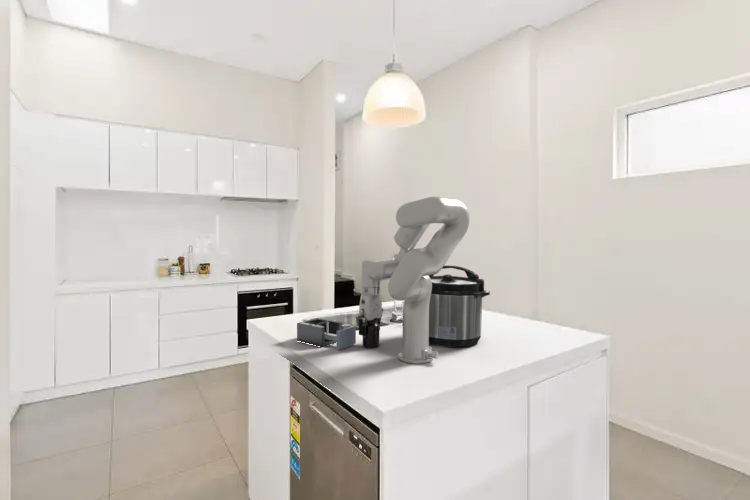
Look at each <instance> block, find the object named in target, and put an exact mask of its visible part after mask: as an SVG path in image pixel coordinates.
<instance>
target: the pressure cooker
mask: <svg viewBox="0 0 750 500" xmlns="http://www.w3.org/2000/svg"><path fill="white" fill-rule="evenodd" d="M443 269H454V270H459V271H463V272H464V273H465V274H466V277H465V276H459V275H452V274H444V275H435V274H434V275H429V277H430V279H431V281H432V291H431V297H430V304H429V344H432V345H435V346H437V345H438V346H441V347H451V348H452V347H453V348H454V347H469V346H472V345H473V346H474V345H475V344H477V343H478V342H479V341H480V339H481V338H482V337H481V336H482V321H483V320H482V317H483V315H482V313H483V298H485V297H487V296H490V295H491V291H489V290H485V279H483V278H480V277H479V274H477V273H476V272H475V271H473V270H470V269H468V268H465V267H462V266H457V265H444V266H443V268H442V269H441V270H443Z"/></svg>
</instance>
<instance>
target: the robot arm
mask: <svg viewBox="0 0 750 500" xmlns="http://www.w3.org/2000/svg"><path fill="white" fill-rule="evenodd" d="M395 213H396V214H395V221H396V223H397V225H398V226H399V227H398V229H397V231H395V232H396V233H395V234H394V236H393V240H394V242H395V243H396V245H397V246H398V247H399V251H398V252H397V254H396V256H395V258H394V259H390V260H389V259H388V260H387V259H386V260H380V259H379V260H378V259H373V258H372V259H364V260H362V262H361V286H360V287H361V288H360V293H361V295H360V299H359V306H358V307H359V308H358V313H357V314H356V315H355V319H356V323H357V325H358V335H359V336H362V337H363V336H366V326H365V324H366V322H367V320H368V321H371V320H373V319H374V318H376V317H377V323H378V324H379V326H380V327H381V321H382V317H383V312H384V308H383V301H382V295H381V281H382V282H383V281H388V284H387V285H388V286H387V290H388V293H389V296H390V297H391V298H392V299H394V300H395V301H400V302H401V301H403V305H402V342H401V343H402V345H401V346H402V350H401V352H399V353H398V354H397V359H398V360H399V361H401V362H403V363H408V364H415V365H416V364H419V365H420V364H427V363H431V362H432V361H433V360H434V359H435V360H436V359H437V360H438V358H439V351H435V350H432V346H430V342H429V304H430V297H431V291H432V281H431V279H430V277H429V275H434V276H435V275H436V274H438V273H440V272H441V270H443V269H442V268H443V266H446V265H445V264H446V263H447V262H448V260H449V259H450V257H451V256H452V254H453V253H454V251H455V249H456V248H457V247H458V245H459V244H460V243H461V241H462V240H463V238H464V237H465V235H466V234H467V232H468V229H469V227H470V213H469V210H468V208H467V205H466V204H464V203H463V202H462V201H461V200H458V199H456V198H452V197H451V198H450V197H442V196H428V197H425V198H424V197H423V198H422V199H418V200H413V201H410V202H406V203H404V204H402V205H401V206H400V207H399V208H398V209H397V211H396V212H395ZM431 224H443V225H442V226H441V227H440V228H439V229H438V230H437V231H436V232H435V233H434V234H433V235H432V237H431V239H430V240H429V242H428V244H426V245H425V247H418V248H415V247H416V246H417V243H419V241H420V240H421V238H422V237H423V235H424V233H425V232H426V231H427V229H428V227H429V226H430V225H431Z"/></svg>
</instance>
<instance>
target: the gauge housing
mask: <svg viewBox="0 0 750 500" xmlns="http://www.w3.org/2000/svg"><path fill="white" fill-rule="evenodd" d="M325 321H328V322H329V333H330V334H335V335H337V331H338V330H341V329H343V326H342V323H343V322H342V321H338V320H337V321H336V320H331V319H323V318H320V317H316V318H311V319H307V320H304V321H303V320H302V321H299V322H297V323H296V342H297V341H301V342H305V343H309V344H313V345H316V346H320V347H323V348H325V347H324V346H326V347H328V346H327V345H329V346H331V345H330V344H332V345H334V344H333V343H335V344H337V343H336V342H337V341H333V340H328V339H325V333H326V323H324V324H320V325H316V326H315V324H318V323H321V322H325ZM316 346H315V347H316ZM320 347H319V348H320Z"/></svg>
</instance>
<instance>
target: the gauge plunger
mask: <svg viewBox="0 0 750 500" xmlns="http://www.w3.org/2000/svg"><path fill="white" fill-rule="evenodd" d="M324 323H326V333H325V339H328V340H333V341H337V343H336V350H339V351H340V350H343V349H345V348H348V347H351V346H353V345H355V344H356V343H357V342H356V341H357V336H356V334H357V333H356V332H357V331H356V328H357V327H356V326H355V325H354V326H353V325H352V326H348V327H344V328H342V329H341V330H338V331H337V335H335V334H330V333H329V322H328V321H325V322H321V323H318V324H315V326H316V325H320V324H324Z"/></svg>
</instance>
